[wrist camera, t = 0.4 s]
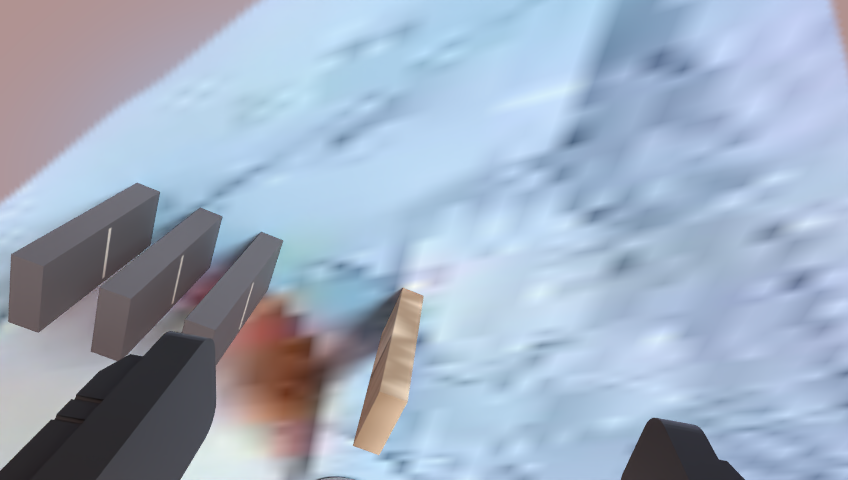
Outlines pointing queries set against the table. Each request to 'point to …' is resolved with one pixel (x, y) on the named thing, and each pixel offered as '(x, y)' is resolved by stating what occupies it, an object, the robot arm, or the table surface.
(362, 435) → the maple domino
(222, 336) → the charcoal domino
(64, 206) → the table surface
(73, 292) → the charcoal domino
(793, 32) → the table surface
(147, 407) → the robot arm
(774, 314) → the table surface
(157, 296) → the charcoal domino
